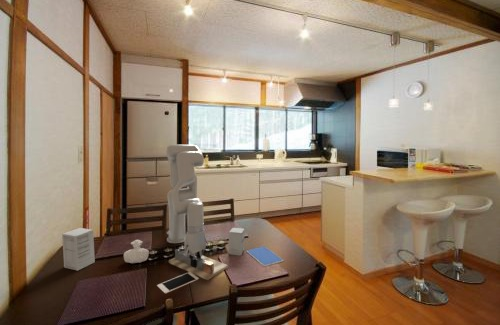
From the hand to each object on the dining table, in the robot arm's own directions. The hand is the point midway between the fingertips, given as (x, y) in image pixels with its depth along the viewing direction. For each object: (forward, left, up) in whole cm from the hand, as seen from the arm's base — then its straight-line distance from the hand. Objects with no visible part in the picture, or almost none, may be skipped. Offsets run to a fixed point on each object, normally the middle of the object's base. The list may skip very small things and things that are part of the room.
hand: (195, 264), depth 122 cm
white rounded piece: (-30, -12, -2) cm, 33 cm away
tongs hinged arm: (0, +1, -1) cm, 1 cm away
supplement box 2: (+5, +26, -2) cm, 27 cm away
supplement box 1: (-48, -31, -2) cm, 57 cm away
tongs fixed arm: (-2, 0, -1) cm, 2 cm away
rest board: (-2, +3, -2) cm, 4 cm away
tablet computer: (+20, +31, -3) cm, 37 cm away
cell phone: (+2, -12, -3) cm, 13 cm away
